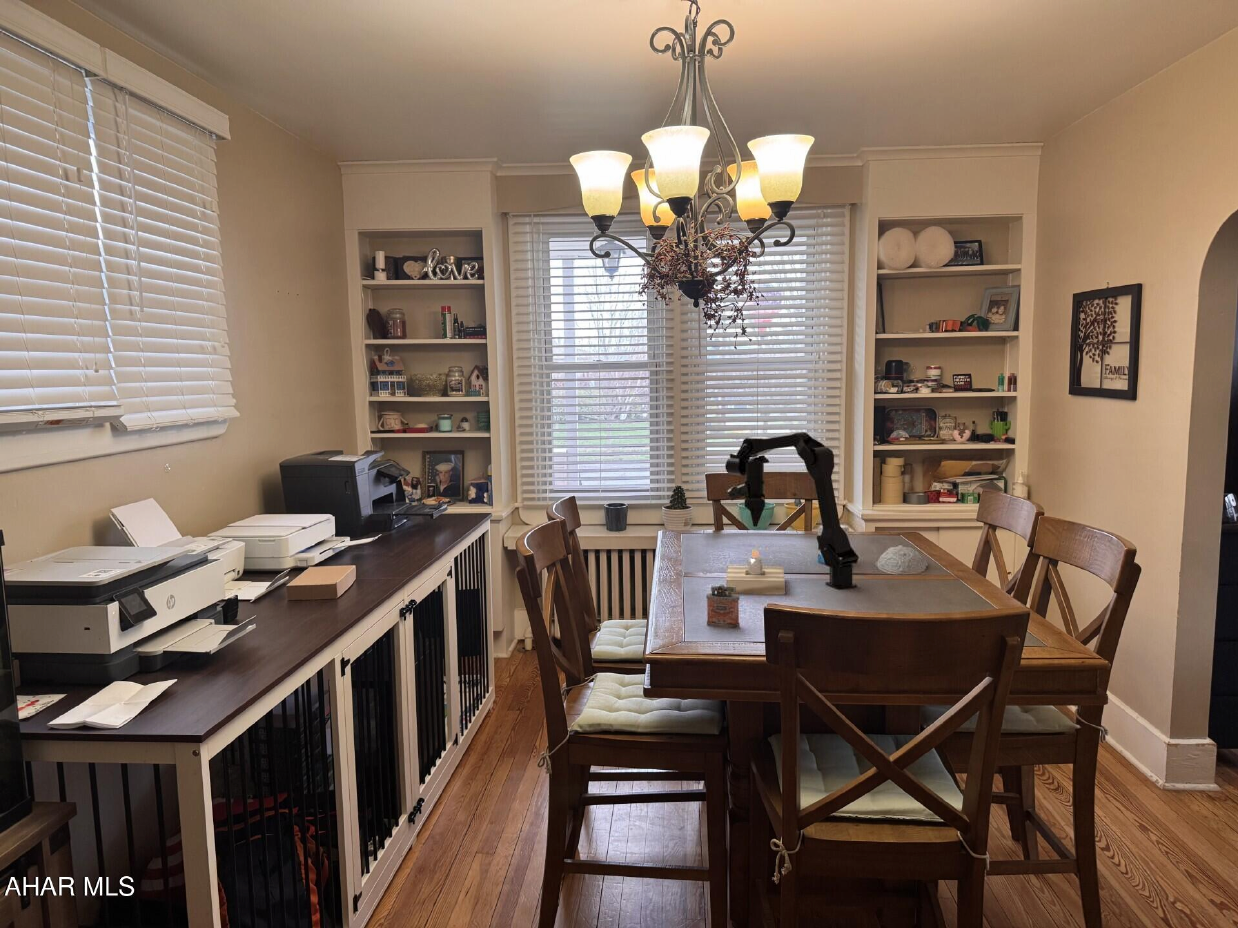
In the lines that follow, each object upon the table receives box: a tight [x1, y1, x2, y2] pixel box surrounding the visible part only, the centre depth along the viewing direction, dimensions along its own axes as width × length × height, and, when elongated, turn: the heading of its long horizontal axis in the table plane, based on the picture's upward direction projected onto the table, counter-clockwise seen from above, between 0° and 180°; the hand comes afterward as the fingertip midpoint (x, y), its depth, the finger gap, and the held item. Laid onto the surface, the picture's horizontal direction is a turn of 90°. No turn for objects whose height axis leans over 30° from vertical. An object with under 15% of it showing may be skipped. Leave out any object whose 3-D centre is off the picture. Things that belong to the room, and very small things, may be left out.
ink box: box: [817, 523, 850, 565], centre depth 252 cm, size 9×5×12 cm, turn 114°
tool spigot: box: [747, 557, 764, 575], centre depth 226 cm, size 4×4×8 cm
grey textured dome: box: [874, 545, 929, 575], centre depth 247 cm, size 16×25×7 cm, turn 161°
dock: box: [725, 565, 786, 595], centre depth 226 cm, size 16×16×4 cm
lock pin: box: [751, 549, 760, 558], centre depth 240 cm, size 12×2×2 cm, turn 170°
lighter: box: [705, 584, 741, 629], centre depth 191 cm, size 8×3×10 cm, turn 69°
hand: (755, 525), depth 250 cm, fingers closed
